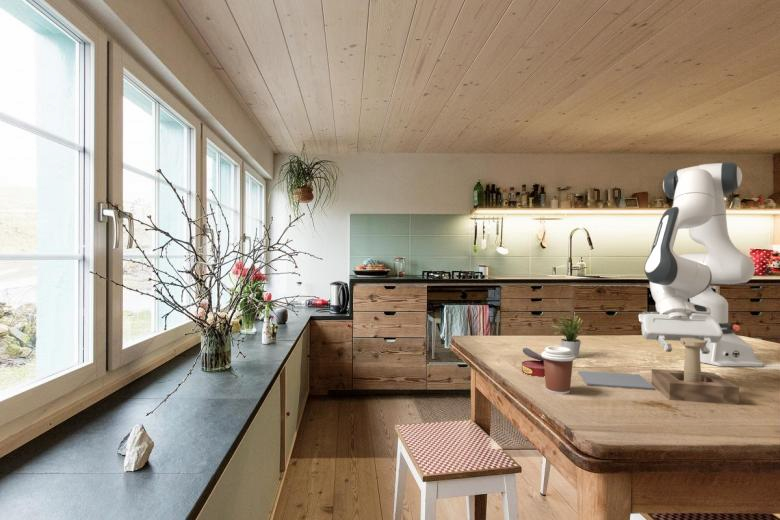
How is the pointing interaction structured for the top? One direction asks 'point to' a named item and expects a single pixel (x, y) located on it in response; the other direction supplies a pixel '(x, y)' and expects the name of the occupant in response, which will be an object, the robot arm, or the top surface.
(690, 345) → the handle
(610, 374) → the mat
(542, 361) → the canned food
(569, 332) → the house plant
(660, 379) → the tray
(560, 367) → the coffee cup
